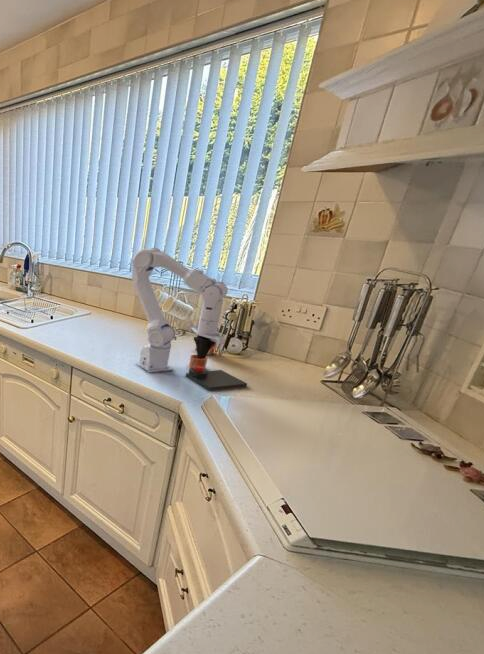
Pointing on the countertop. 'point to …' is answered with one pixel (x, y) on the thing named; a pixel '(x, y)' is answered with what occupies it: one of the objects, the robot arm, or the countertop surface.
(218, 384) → the scale
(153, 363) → the robot arm
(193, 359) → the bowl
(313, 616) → the countertop surface
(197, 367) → the button
